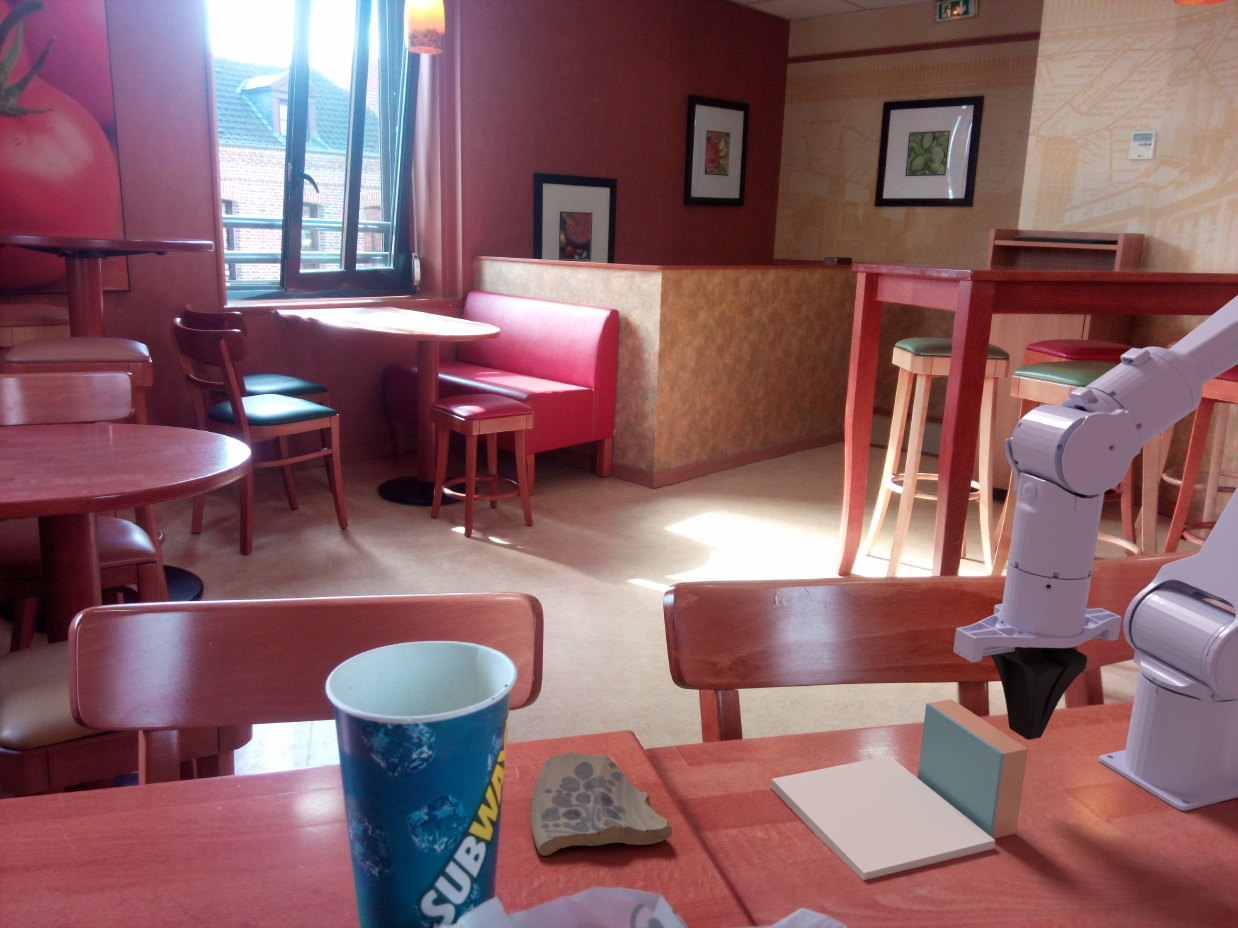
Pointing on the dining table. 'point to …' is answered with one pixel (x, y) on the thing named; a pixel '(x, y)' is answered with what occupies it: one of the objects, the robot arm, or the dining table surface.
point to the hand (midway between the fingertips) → (1024, 732)
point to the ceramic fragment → (590, 805)
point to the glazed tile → (972, 766)
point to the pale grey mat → (880, 817)
